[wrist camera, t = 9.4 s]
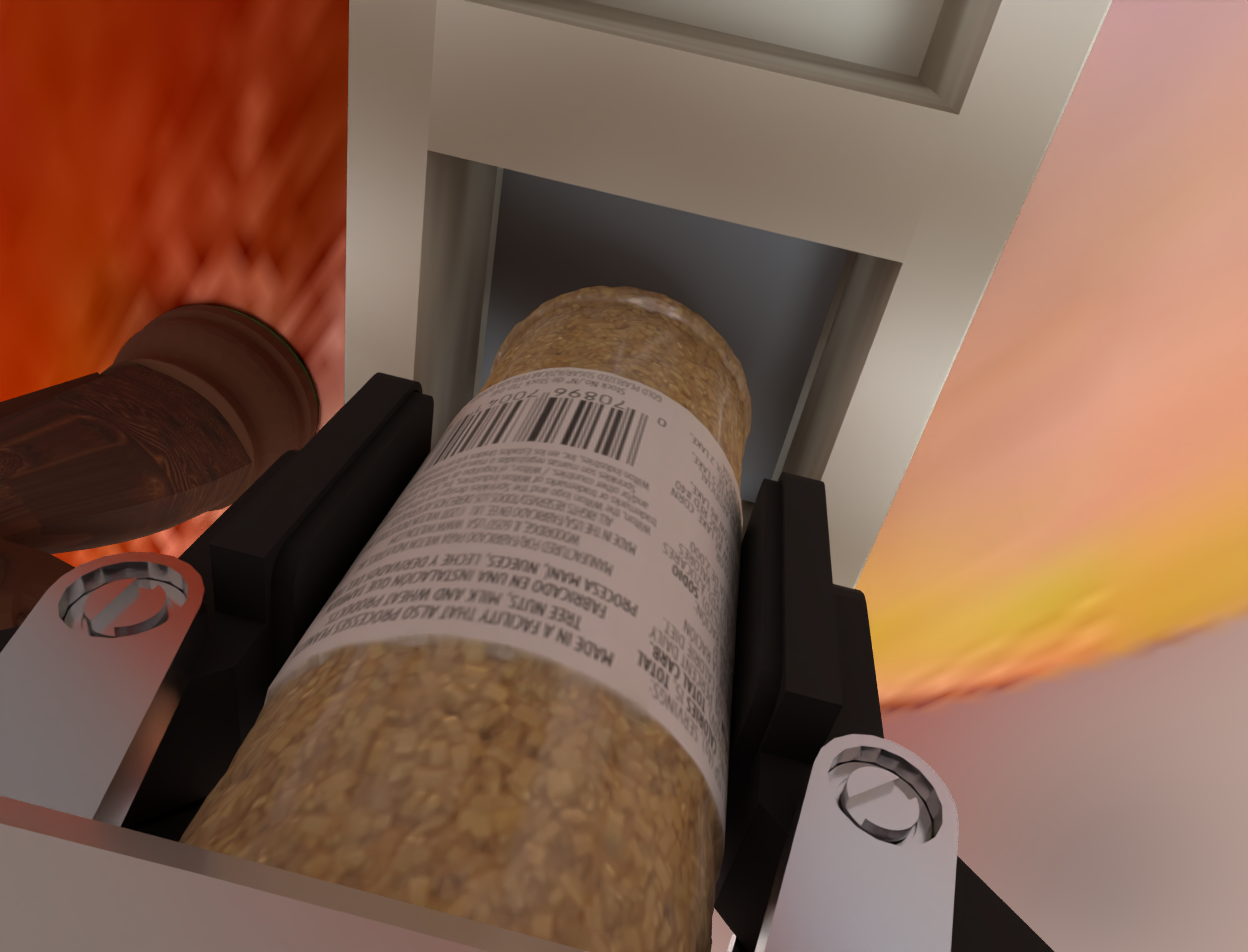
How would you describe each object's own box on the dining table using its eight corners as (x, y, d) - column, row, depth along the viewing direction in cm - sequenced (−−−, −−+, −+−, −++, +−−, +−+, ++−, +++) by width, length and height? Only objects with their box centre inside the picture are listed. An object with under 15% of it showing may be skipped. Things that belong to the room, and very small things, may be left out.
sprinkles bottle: (484, 482, 16) (-220, 1757, 5) (509, 245, 14) (-828, 1711, 2) (722, 537, 16) (591, 1998, 5) (790, 309, 13) (876, 2229, 2)
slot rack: (430, -872, 11) (203, -1405, 7) (1385, -685, 10) (1798, -1121, 6) (378, 457, 21) (280, 580, 17) (846, 574, 21) (862, 729, 17)
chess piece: (259, 500, 23) (-46, 820, 14) (95, 365, 21) (-350, 632, 13) (357, 402, 21) (66, 709, 12) (183, 245, 19) (-280, 471, 11)
